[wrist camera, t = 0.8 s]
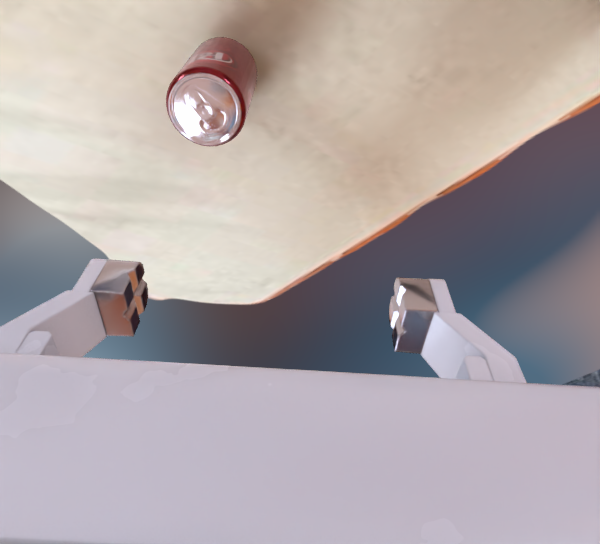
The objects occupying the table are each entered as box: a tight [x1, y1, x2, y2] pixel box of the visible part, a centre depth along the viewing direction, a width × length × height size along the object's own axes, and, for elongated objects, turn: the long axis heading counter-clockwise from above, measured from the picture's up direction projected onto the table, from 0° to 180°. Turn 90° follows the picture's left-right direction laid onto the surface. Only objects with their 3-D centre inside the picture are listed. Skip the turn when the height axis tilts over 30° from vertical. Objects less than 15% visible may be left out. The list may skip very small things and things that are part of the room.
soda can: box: [166, 37, 258, 146], centre depth 47 cm, size 7×7×12 cm
